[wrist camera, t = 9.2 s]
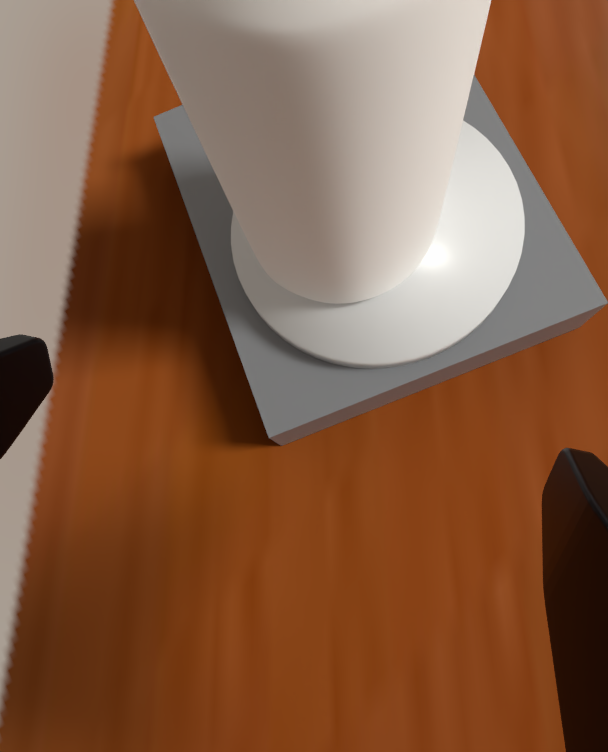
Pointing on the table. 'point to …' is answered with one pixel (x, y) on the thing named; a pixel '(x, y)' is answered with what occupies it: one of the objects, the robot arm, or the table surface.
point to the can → (326, 125)
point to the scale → (403, 302)
